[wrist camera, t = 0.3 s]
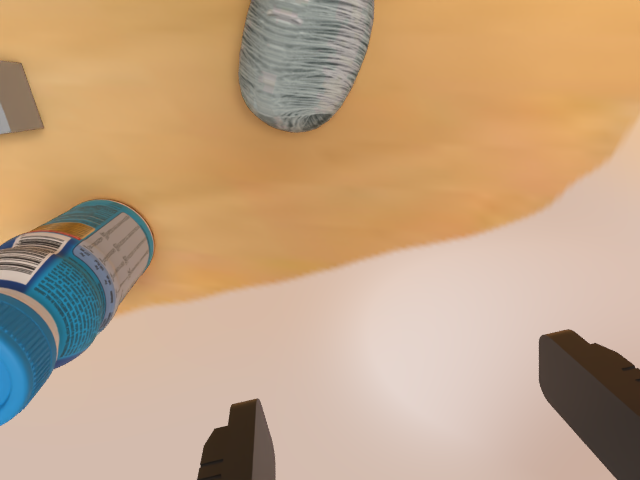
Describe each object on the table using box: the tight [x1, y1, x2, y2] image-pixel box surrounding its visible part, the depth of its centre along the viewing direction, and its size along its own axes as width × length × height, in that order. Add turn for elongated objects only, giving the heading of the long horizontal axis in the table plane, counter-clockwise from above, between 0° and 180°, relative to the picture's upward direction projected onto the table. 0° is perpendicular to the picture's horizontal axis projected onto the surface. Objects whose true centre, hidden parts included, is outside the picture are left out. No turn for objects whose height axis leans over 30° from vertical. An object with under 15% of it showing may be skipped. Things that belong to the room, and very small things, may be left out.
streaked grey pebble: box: [238, 0, 374, 132], centre depth 31 cm, size 14×10×10 cm
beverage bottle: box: [0, 199, 154, 426], centre depth 29 cm, size 8×8×20 cm
